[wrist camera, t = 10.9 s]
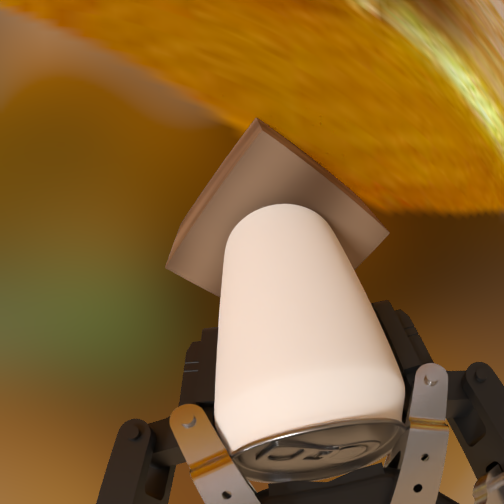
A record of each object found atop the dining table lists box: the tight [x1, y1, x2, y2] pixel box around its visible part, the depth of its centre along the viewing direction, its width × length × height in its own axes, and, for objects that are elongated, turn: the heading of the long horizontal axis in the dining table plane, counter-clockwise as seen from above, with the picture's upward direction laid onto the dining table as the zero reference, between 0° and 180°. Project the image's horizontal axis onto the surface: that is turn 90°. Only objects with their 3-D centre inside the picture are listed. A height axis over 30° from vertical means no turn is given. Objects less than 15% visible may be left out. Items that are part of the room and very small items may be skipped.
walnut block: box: [165, 118, 390, 297], centre depth 20 cm, size 10×10×6 cm
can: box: [214, 204, 407, 483], centre depth 12 cm, size 6×6×12 cm
